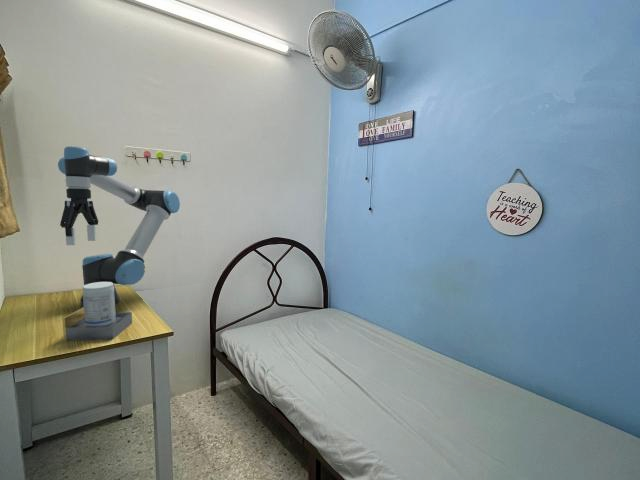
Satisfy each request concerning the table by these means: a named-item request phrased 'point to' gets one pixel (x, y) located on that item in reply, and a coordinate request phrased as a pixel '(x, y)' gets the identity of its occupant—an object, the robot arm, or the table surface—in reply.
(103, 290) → the supplement tub
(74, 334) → the gray square tray
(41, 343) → the table surface
